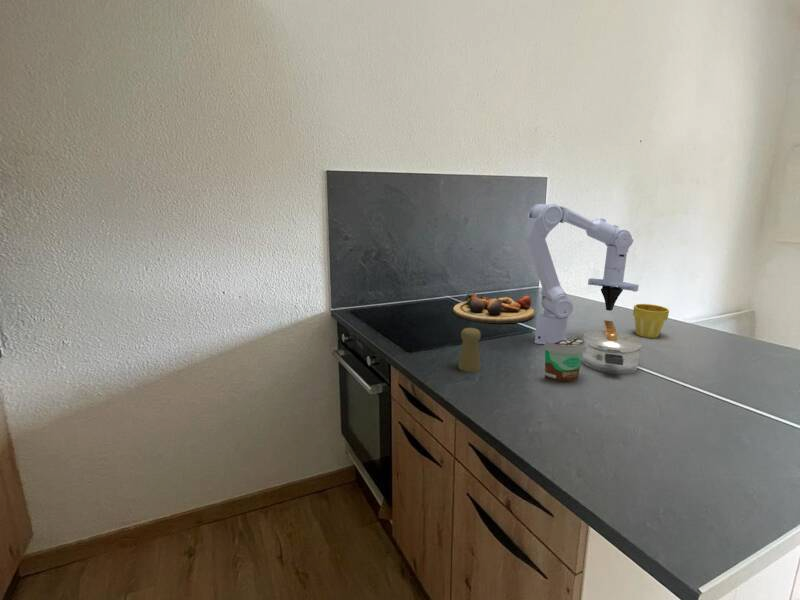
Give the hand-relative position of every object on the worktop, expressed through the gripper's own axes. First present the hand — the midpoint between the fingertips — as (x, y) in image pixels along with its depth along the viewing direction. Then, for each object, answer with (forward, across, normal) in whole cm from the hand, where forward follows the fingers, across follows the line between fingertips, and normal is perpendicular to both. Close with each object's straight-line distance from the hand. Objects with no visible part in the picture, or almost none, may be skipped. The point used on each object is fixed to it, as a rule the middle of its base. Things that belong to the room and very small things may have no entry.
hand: (609, 309), depth 137 cm
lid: (+4, -7, +18) cm, 20 cm away
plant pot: (+11, -8, -17) cm, 21 cm away
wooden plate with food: (+11, +45, -3) cm, 46 cm away
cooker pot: (+10, -8, +20) cm, 24 cm away
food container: (+11, -5, +39) cm, 40 cm away
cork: (+11, +17, +51) cm, 55 cm away
